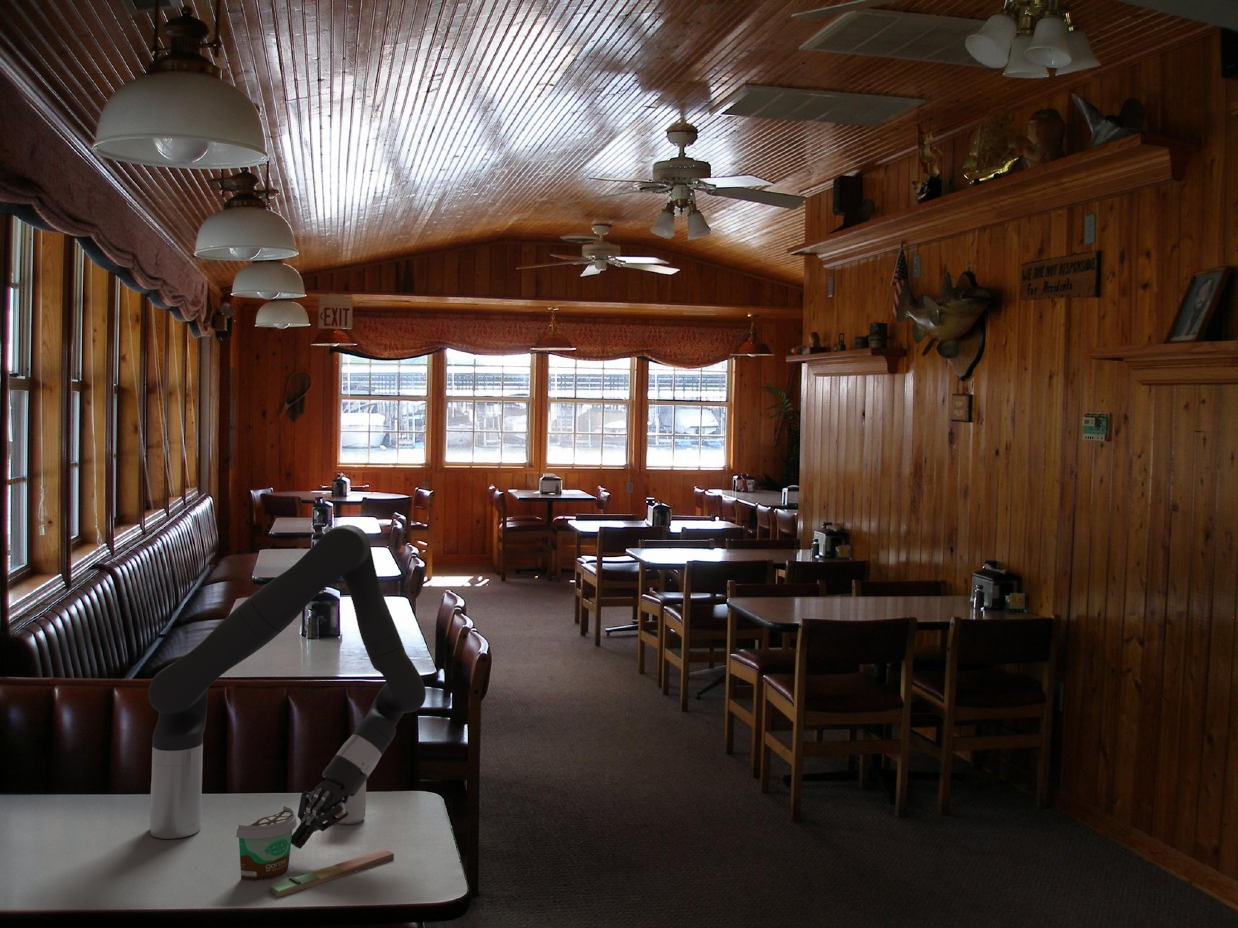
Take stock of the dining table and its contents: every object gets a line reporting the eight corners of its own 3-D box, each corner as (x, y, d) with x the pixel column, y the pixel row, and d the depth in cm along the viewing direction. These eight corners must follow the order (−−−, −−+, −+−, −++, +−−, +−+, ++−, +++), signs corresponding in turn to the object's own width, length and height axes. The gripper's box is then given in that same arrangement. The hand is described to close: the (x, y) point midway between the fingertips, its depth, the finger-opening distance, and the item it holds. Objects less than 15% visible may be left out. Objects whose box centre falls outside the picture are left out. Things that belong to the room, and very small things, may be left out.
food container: (261, 888, 185) (263, 831, 185) (234, 881, 188) (236, 825, 188) (310, 864, 196) (311, 810, 196) (284, 858, 199) (285, 804, 199)
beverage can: (356, 826, 216) (358, 768, 216) (327, 823, 217) (329, 765, 217) (370, 816, 222) (372, 759, 222) (341, 813, 224) (343, 756, 223)
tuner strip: (269, 891, 184) (269, 883, 184) (384, 854, 202) (384, 846, 202) (278, 896, 182) (278, 888, 182) (393, 859, 200) (393, 851, 200)
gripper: (321, 746, 207) (262, 825, 198) (361, 761, 198) (301, 844, 189) (343, 767, 211) (287, 845, 202) (384, 783, 202) (327, 865, 193)
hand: (294, 845), depth 196 cm, fingers closed
